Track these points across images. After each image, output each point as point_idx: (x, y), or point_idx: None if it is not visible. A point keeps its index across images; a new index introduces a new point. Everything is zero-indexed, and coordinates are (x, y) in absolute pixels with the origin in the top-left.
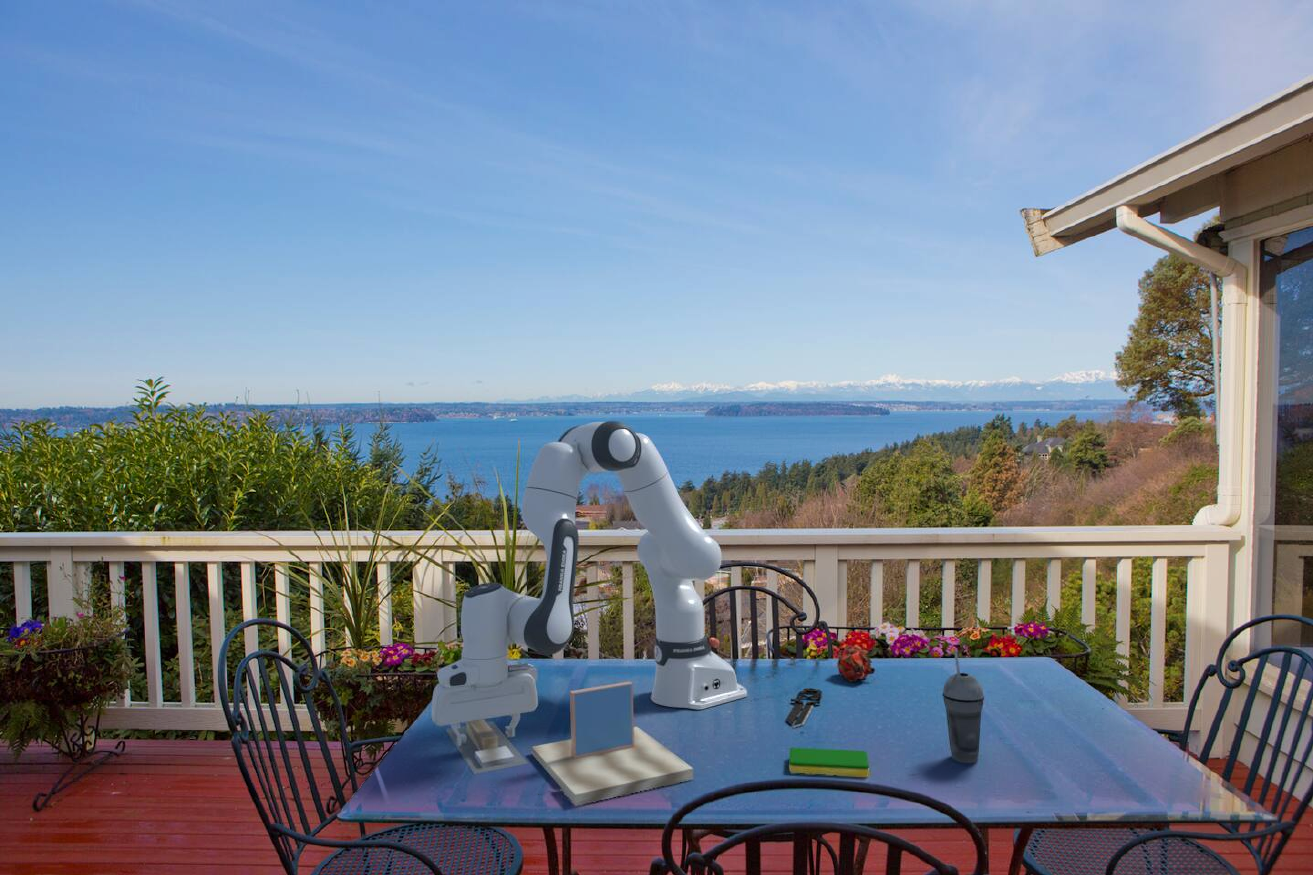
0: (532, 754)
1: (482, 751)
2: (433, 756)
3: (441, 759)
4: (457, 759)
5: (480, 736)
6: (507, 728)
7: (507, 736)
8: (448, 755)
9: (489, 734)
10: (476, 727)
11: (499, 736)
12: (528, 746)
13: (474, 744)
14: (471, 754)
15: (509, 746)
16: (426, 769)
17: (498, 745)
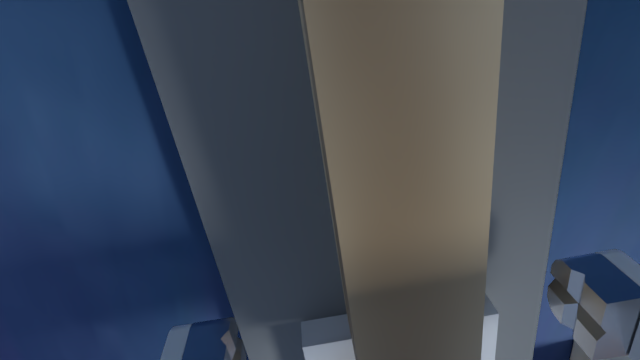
0: (583, 356)
1: (347, 352)
2: (18, 190)
3: (93, 251)
4: (198, 275)
5: (359, 353)
6: (599, 345)
7: (552, 310)
8: (129, 203)
9: (435, 332)
10: (356, 133)
11: (540, 12)
12: (631, 209)
13: (313, 125)
14: (282, 287)
15: (527, 233)
16: (34, 351)
17: None
